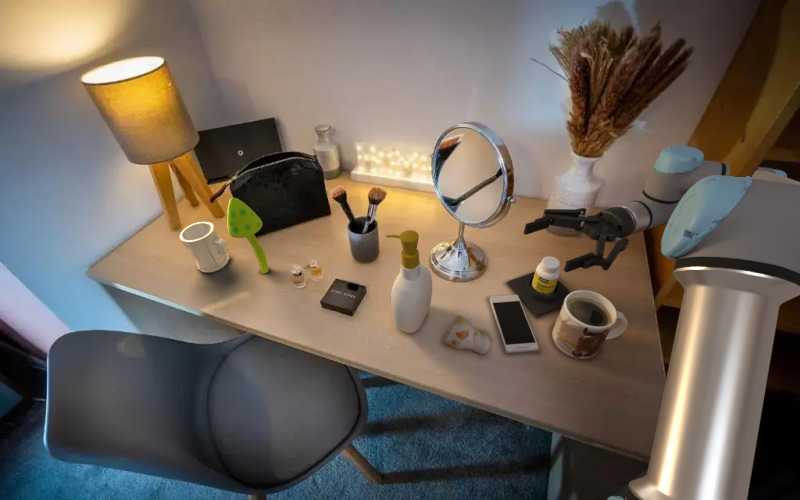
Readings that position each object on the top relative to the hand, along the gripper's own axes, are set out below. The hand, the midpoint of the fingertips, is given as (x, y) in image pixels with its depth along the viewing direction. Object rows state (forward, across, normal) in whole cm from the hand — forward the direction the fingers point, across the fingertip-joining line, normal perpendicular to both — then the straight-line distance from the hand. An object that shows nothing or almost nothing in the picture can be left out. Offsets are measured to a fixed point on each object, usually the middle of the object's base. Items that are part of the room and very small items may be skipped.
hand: (544, 247), depth 76 cm
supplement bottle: (-3, 0, -16) cm, 16 cm away
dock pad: (-3, 0, -17) cm, 17 cm away
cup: (+75, +48, -17) cm, 90 cm away
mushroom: (+62, +38, -17) cm, 74 cm away
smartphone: (+9, -5, -17) cm, 19 cm away
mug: (-2, -15, -17) cm, 23 cm away
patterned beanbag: (+21, -6, -17) cm, 27 cm away
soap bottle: (+30, +6, -17) cm, 35 cm away
